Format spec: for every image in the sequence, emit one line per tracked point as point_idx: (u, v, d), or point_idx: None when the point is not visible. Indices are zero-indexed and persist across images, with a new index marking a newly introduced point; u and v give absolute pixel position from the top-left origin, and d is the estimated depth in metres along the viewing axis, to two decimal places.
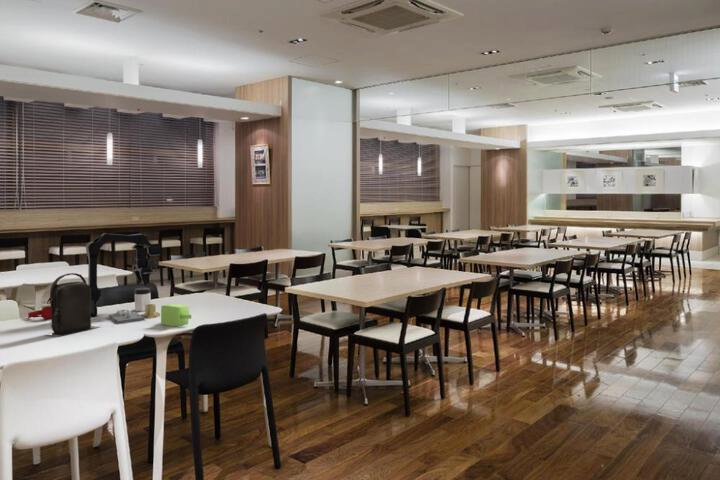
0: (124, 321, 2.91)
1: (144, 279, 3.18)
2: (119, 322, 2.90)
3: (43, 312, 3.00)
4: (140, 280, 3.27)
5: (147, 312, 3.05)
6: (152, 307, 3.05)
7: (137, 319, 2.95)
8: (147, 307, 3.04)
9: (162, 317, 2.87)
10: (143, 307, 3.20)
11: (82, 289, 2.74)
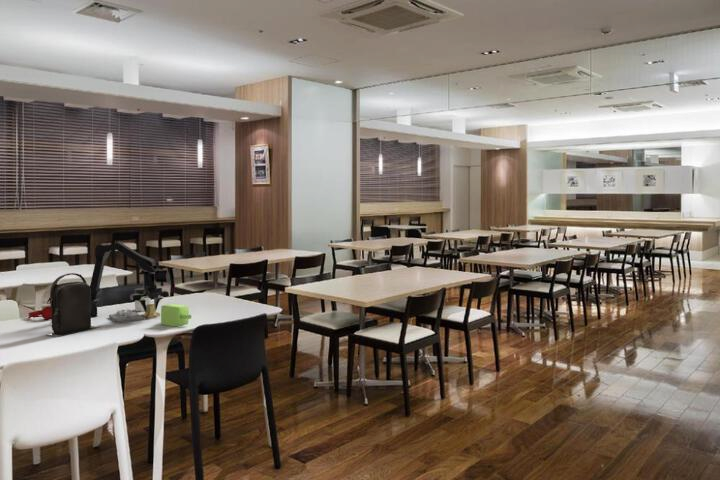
0: (124, 321, 2.91)
1: (142, 306, 3.05)
2: (119, 322, 2.90)
3: (43, 312, 3.00)
4: None
5: (147, 312, 3.05)
6: (152, 307, 3.05)
7: (137, 319, 2.95)
8: (147, 307, 3.04)
9: (162, 317, 2.87)
10: None
11: (82, 289, 2.74)
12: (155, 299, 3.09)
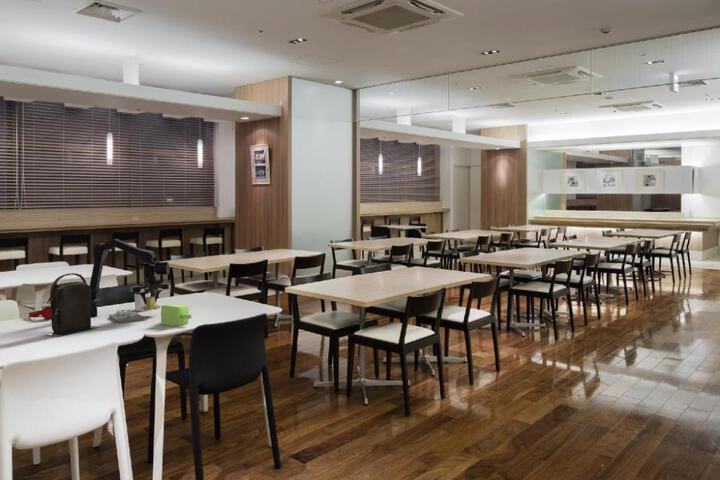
0: (124, 321, 2.91)
1: (142, 298, 3.05)
2: (119, 322, 2.90)
3: (44, 312, 3.00)
4: None
5: (147, 304, 3.04)
6: (152, 299, 3.05)
7: (137, 319, 2.95)
8: (147, 299, 3.04)
9: (162, 317, 2.87)
10: None
11: (82, 289, 2.74)
12: (155, 291, 3.08)
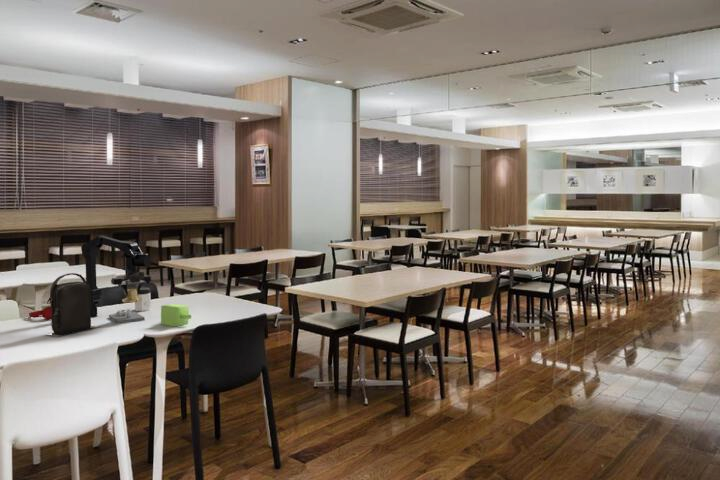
0: (124, 321, 2.91)
1: (124, 290, 2.96)
2: (119, 322, 2.90)
3: (44, 312, 3.00)
4: None
5: (128, 297, 2.96)
6: (134, 292, 2.97)
7: (137, 319, 2.95)
8: (129, 292, 2.96)
9: (162, 317, 2.87)
10: (143, 307, 3.20)
11: (82, 289, 2.74)
12: (137, 284, 3.00)
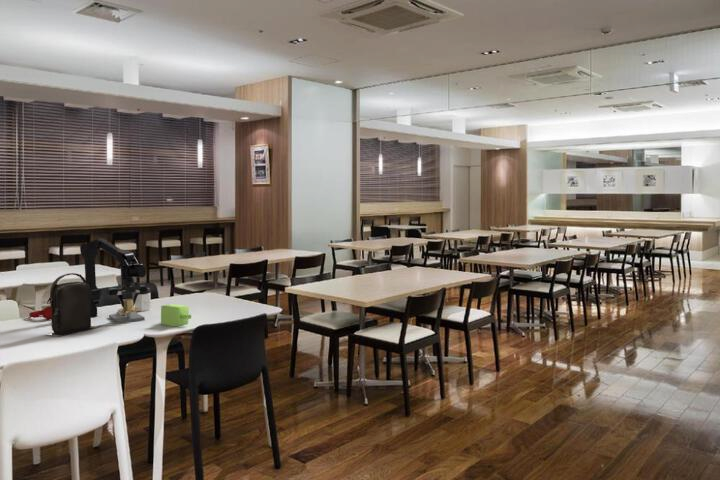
0: (124, 321, 2.91)
1: (120, 300, 2.95)
2: (119, 322, 2.90)
3: (44, 312, 3.00)
4: None
5: (124, 307, 2.95)
6: (130, 302, 2.95)
7: (137, 319, 2.95)
8: (124, 302, 2.94)
9: (162, 317, 2.87)
10: (143, 307, 3.20)
11: (82, 289, 2.74)
12: (133, 294, 2.99)
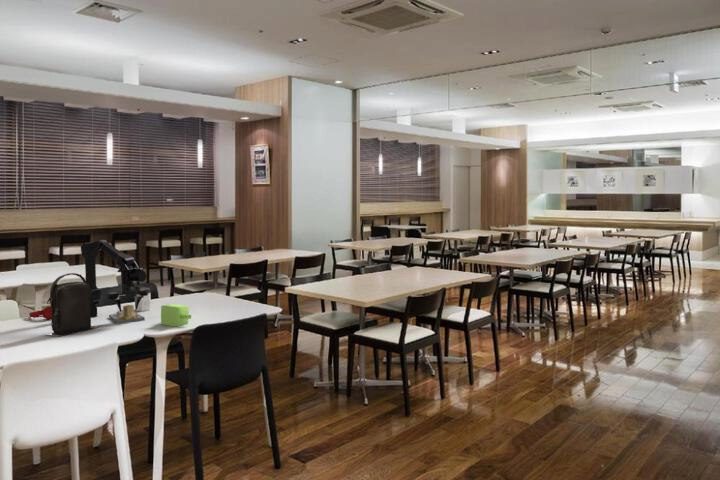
0: (124, 321, 2.91)
1: (117, 305, 2.94)
2: (119, 322, 2.90)
3: (44, 312, 2.99)
4: (135, 307, 2.99)
5: (125, 313, 2.95)
6: (130, 308, 2.95)
7: (137, 319, 2.95)
8: (125, 308, 2.95)
9: (162, 317, 2.87)
10: (143, 307, 3.20)
11: (82, 289, 2.74)
12: (136, 298, 2.99)
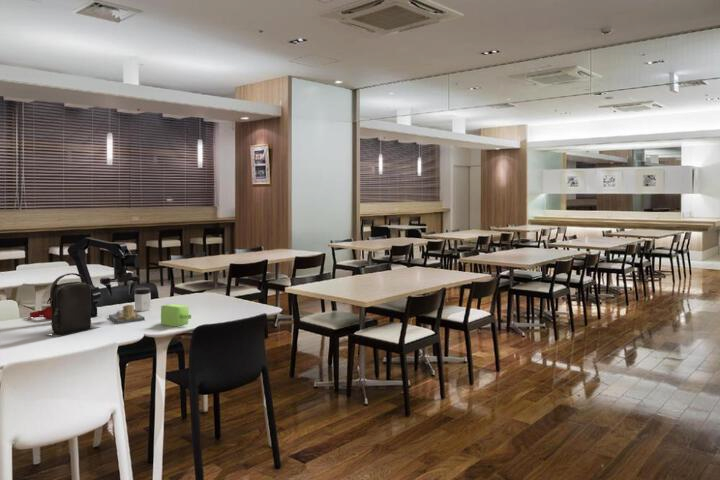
0: (124, 321, 2.91)
1: (108, 290, 3.00)
2: (119, 322, 2.90)
3: (45, 312, 2.99)
4: (129, 292, 3.06)
5: (125, 313, 2.95)
6: (130, 308, 2.95)
7: (137, 319, 2.95)
8: (125, 308, 2.95)
9: (162, 317, 2.87)
10: (143, 307, 3.20)
11: (82, 289, 2.74)
12: (130, 283, 3.06)
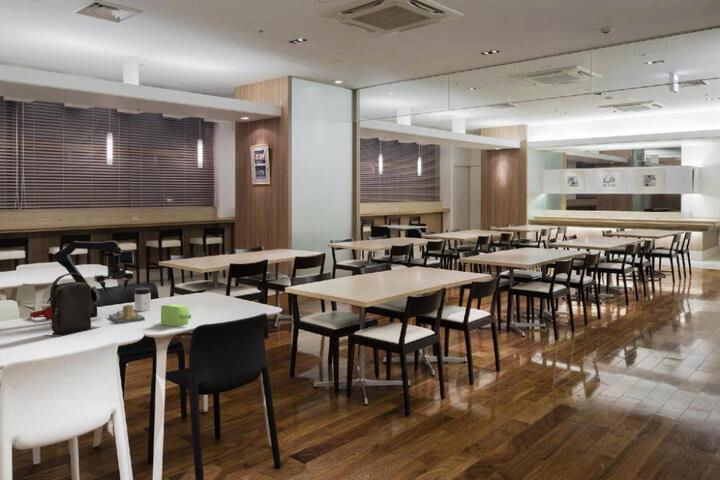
0: (124, 321, 2.91)
1: None
2: (119, 322, 2.90)
3: (46, 312, 2.99)
4: (123, 289, 3.12)
5: (125, 313, 2.95)
6: (130, 308, 2.95)
7: (137, 319, 2.95)
8: (125, 308, 2.95)
9: (162, 317, 2.87)
10: (143, 307, 3.20)
11: (82, 289, 2.74)
12: (123, 280, 3.12)
